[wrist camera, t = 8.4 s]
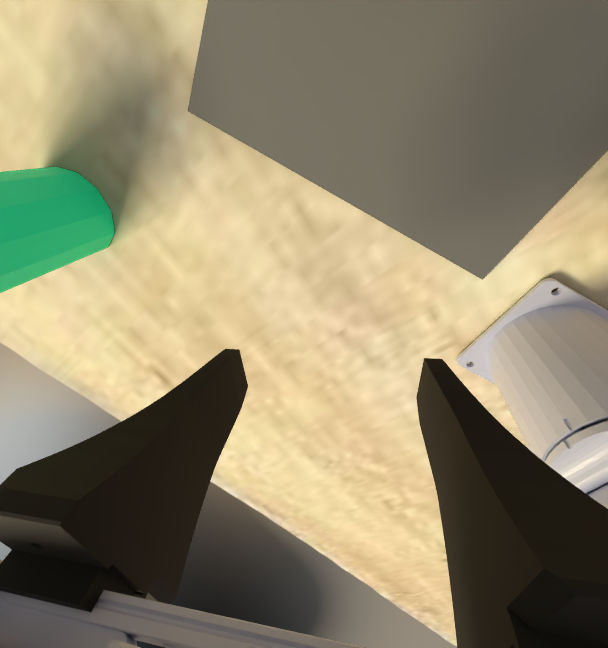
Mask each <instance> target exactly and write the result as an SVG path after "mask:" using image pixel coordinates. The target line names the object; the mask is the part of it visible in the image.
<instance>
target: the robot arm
mask: <svg viewBox="0 0 608 648" xmlns="http://www.w3.org/2000/svg"><path fill="white" fill-rule="evenodd" d="M555 288H558V290H557V291H555V292H553V293H551V291H552V290H553V289H555ZM456 361H457V363H458V365H460V366H461V367H463V368H465V369H467V370H469V371H471V372H473V373H475V374H476V375H478V376H480V377H482V378H484V379H486V380H488V381H490V382H491V383H493V384H495V385H496V386H497V387H498V389H499V391H500V393H501V395H502V397H503V399H504V401H505V403H506V405H507V407H508V409H509V411H510V413H511V415H512V417H513V419H514V421H515V423H516V425H517V427H518V429H519V431H520V433H521V435H522V437H523V439H524V441H525V442H526V444H527V446H528V448H529V449H528V448H527V447H526V446H524V445H523V444H522V443H521V442H520V441H519V440H518V439H516V438H515V437H514V436H513V435H512V434H511V433H510V432H509V431H508V430H506V429H505V428H504V427H503V426H502V425H501V424H500V423H499V422H498V421H497V420H496V419H495V418H494V417H493V416H492V415H491V414H490V413H489V412H488V411H487V410H486V409H485V408H484V407H483V405H482V404H481V403H480V402H479V401H478V400H477V399H476V398H475V397H474V396H473V395H472V394H471V392H470V391H469V390H468V389H467V388H466V387H465V386H464V384H463V383H462V382H461V381H460V380H459V379H458V377H457V376H456V375H455V374H454V373H453V371H452V370H451V369H450V368H449V367H448V365H447V364H446V363H445V362H444V361H443V360H442V359H429V358H424V362H423V367H422V372H421V377H420V382H419V388H418V393H417V406H418V414H419V421H420V426H421V430H422V434H423V438H424V442H425V446H426V450H427V454H428V458H429V462H430V466H431V469H432V473H433V477H434V481H435V485H436V490H437V495H438V501H439V507H440V513H441V520H442V526H443V533H444V540H445V547H446V554H447V561H448V569H449V577H450V585H451V593H452V601H453V610H454V620H455V629H456V638H457V648H608V310H606V309H605V308H603V307H601V306H599V305H598V304H596V303H594V302H593V301H591V300H589V299H588V298H586V297H584V296H582V295H581V294H579V293H577V292H576V291H574V290H572V289H571V288H569V287H567V286H566V285H564V284H562V283H560V282H559V281H557V280H555V279H553V278H546V279H543V280H542V281H540V282H539V283H538V284H537V285H536V286H535V287H534V288H533V289H532V290H530V291H529V292H528V293H527V294H526V295H525V296H524V297H523V298H522V299H520V300H519V301H518V302H517V303H516V304H515V305H514V306H513V307H512V308H510V309H509V310H508V311H507V312H506V313H505V314H504V315H503V316H502V317H500V318H499V319H498V320H497V321H496V322H495V323H494V324H493V325H492V326H490V327H489V328H488V329H487V330H486V331H485V332H484V333H483V334H482V335H480V336H479V337H478V338H477V339H476V340H475V341H474V342H473V343H472V344H470V345H469V346H468V347H467V348H466V349H465V350H464V351H463V352H462V353H460V354H459V355H458V356H457V358H456ZM468 362H472V363H471V364H467V363H468ZM247 388H248V384H247V380H246V376H245V372H244V368H243V363H242V359H241V355H240V351H239V350H236V349H225V350H223V351H222V352H221V353H219V354H218V355H217V356H215V357H214V358H213V359H212V360H210V361H209V362H208V363H207V364H205V365H204V366H203V367H202V368H200V369H199V370H198V371H196V372H195V373H194V374H193V375H191V376H190V377H189V378H188V379H186V380H185V381H184V382H182V383H181V384H179V385H178V386H177V387H175V388H174V389H173V390H171V391H170V392H168V393H167V394H166V395H164V396H163V397H161V398H160V399H158V400H157V401H155V402H154V403H152V404H151V405H149V406H148V407H146V408H144V409H143V410H141V411H139V412H138V413H136V414H134V415H133V416H131V417H129V418H127V419H126V420H124V421H122V422H120V423H118V424H116V425H115V426H113V427H111V428H109V429H107V430H105V431H103V432H101V433H99V434H97V435H95V436H93V437H91V438H89V439H87V440H85V441H83V442H81V443H78V444H76V445H74V446H72V447H69V448H67V449H65V450H63V451H60V452H58V453H56V454H53V455H51V456H48V457H46V458H43V459H41V460H38V461H36V462H33V463H31V464H28V465H26V466H23V467H20V468H18V469H16V470H15V471H14V472H13V473H12V474H11V475H10V476H9V477H8V478H7V479H6V480H5V481H4V482H3V483H2V484H1V485H0V541H1V542H2V543H3V544H5V545H6V546H8V547H9V548H11V549H12V551H11V552H10V553H9V554H8V555H7V557H6V558H5V559H4V560H3V561H2V560H0V648H140V647H137V644H136V641H135V640H138V641H142V642H146V643H150V644H154V645H158V646H162V647H166V648H364V647H359V646H355V645H351V644H346V643H342V642H337V641H333V640H328V639H324V638H319V637H315V636H310V635H305V634H301V633H297V632H292V631H288V630H283V629H278V628H274V627H269V626H265V625H260V624H256V623H251V622H247V621H242V620H238V619H233V618H229V617H224V616H219V615H215V614H210V613H206V612H202V611H197V610H192V609H188V608H183V607H179V606H174V605H170V603H172V602H173V601H174V600H175V599H176V597H177V594H178V590H179V585H180V581H181V578H182V574H183V570H184V566H185V562H186V559H187V555H188V551H189V548H190V544H191V541H192V537H193V534H194V530H195V527H196V523H197V520H198V517H199V514H200V510H201V507H202V504H203V501H204V498H205V495H206V492H207V489H208V485H209V483H210V480H211V477H212V474H213V471H214V468H215V466H216V463H217V461H218V459H219V456H220V454H221V452H222V450H223V448H224V445H225V443H226V441H227V439H228V437H229V434H230V432H231V430H232V428H233V426H234V423H235V421H236V419H237V417H238V415H239V412H240V410H241V407H242V404H243V401H244V398H245V395H246V391H247Z"/></svg>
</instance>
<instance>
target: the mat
mask: <svg viewBox="0 0 608 648" xmlns="http://www.w3.org/2000/svg"><path fill="white" fill-rule="evenodd" d="M188 111H189V112H190V113H192V114H194V115H196V116H197V117H199V118H201V119H203V120H204V121H206V122H208V123H210V124H211V125H213V126H215V127H217V128H218V129H220V130H222V131H224V132H225V133H227V134H229V135H231V136H232V137H234V138H236V139H238V140H239V141H241V142H243V143H245V144H246V145H248V146H250V147H252V148H253V149H255V150H257V151H259V152H260V153H262V154H264V155H266V156H267V157H269V158H271V159H273V160H274V161H276V162H278V163H280V164H281V165H283V166H285V167H287V168H288V169H290V170H292V171H294V172H295V173H297V174H299V175H301V176H302V177H304V178H306V179H308V180H309V181H311V182H313V183H315V184H316V185H318V186H320V187H322V188H323V189H325V190H327V191H329V192H330V193H332V194H334V195H336V196H337V197H339V198H341V199H343V200H344V201H346V202H348V203H350V204H351V205H353V206H355V207H357V208H358V209H360V210H362V211H364V212H365V213H367V214H369V215H371V216H372V217H374V218H376V219H378V220H379V221H381V222H383V223H385V224H386V225H388V226H390V227H392V228H393V229H395V230H397V231H398V232H400V233H402V234H404V235H405V236H407V237H409V238H411V239H412V240H414V241H416V242H418V243H419V244H421V245H423V246H425V247H426V248H428V249H430V250H432V251H433V252H435V253H437V254H439V255H440V256H442V257H444V258H446V259H447V260H449V261H451V262H453V263H454V264H456V265H458V266H460V267H461V268H463V269H465V270H467V271H468V272H470V273H472V274H474V275H475V276H477V277H479V278H481V279H482V280H483V279H484V278H485V277H486V276H487V274H488V273H489V272H490V271H491V270H492V269H493V268H494V267H495V266H496V265H497V264H498V263H499V262H500V261H501V260H502V259H503V258H504V257H505V256H506V255H507V254H508V253H509V252H510V251H511V250H512V249H513V248H514V247H515V246H516V244H517V243H518V242H519V241H520V240H521V239H522V238H523V237H524V236H525V235H526V234H527V233H528V232H529V231H530V230H531V229H532V228H533V227H534V226H535V225H536V224H537V223H538V222H539V221H540V220H541V219H542V218H543V217H544V216H545V214H546V213H547V212H548V211H549V210H550V209H551V208H552V207H553V206H554V205H555V204H556V203H557V202H558V201H559V200H560V199H561V198H562V197H563V196H564V195H565V194H566V193H567V192H568V191H569V190H570V189H571V188H572V187H573V186H574V184H575V183H576V182H577V181H578V180H579V179H580V178H581V177H582V176H583V175H584V174H585V173H586V172H587V171H588V170H589V169H590V168H591V167H592V166H593V165H594V164H595V163H596V162H597V161H598V160H599V159H600V158H601V157H602V156H603V154H604V153H605V152H606V151H607V150H608V0H208V4H207V9H206V15H205V20H204V25H203V31H202V36H201V42H200V47H199V53H198V58H197V63H196V69H195V74H194V80H193V85H192V91H191V96H190V101H189V107H188Z"/></svg>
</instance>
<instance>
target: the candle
mask: <svg viewBox="0 0 608 648" xmlns="http://www.w3.org/2000/svg"><path fill="white" fill-rule="evenodd" d="M114 234H115V231H114V224H113V218H112V212H111V210H110V209H109V207H108V205H107V204H106V202H105V200H104V199H103V197H102V195H101V194H100V192H99V190H98V189H97V188H96V187H94V186H93V185H92V184H91V183H90V182H88V181H87V180H86V179H85V178H84V177H82V176H81V175H80V174H79V173H78V172H74V171H70V170H67V169H63V168H59V167H48V168H37V169H27V170H16V171H6V172H0V293H1V292H4V291H6V290H8V289H11V288H13V287H15V286H18V285H20V284H22V283H25V282H27V281H30V280H32V279H34V278H37V277H39V276H41V275H44V274H46V273H48V272H51V271H53V270H55V269H58V268H60V267H63V266H65V265H67V264H70V263H72V262H74V261H77V260H79V259H81V258H84V257H86V256H88V255H91V254H93V253H96V252H98V251H100V250H103V249H105V248H107V247H109V244H110V242H111V240H112V238H113V236H114Z"/></svg>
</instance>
